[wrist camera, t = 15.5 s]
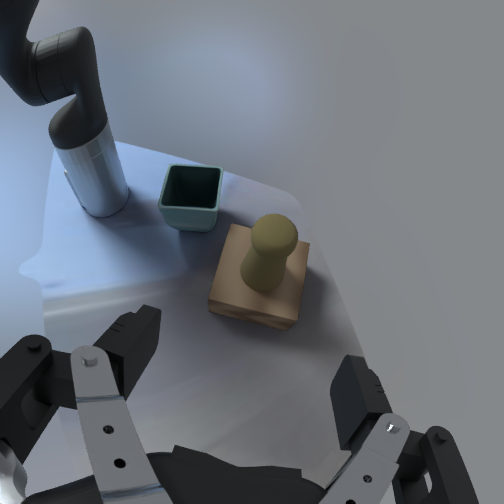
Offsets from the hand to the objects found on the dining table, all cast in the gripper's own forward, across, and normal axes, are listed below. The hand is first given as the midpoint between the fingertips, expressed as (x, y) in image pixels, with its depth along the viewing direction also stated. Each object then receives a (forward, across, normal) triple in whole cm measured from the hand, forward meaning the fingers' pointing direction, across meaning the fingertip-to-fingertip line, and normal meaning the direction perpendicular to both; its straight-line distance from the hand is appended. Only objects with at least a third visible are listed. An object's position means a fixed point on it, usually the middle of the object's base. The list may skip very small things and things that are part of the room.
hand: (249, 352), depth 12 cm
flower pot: (+39, +12, +4) cm, 41 cm away
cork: (+28, -1, +7) cm, 29 cm away
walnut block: (+33, -1, +11) cm, 34 cm away
